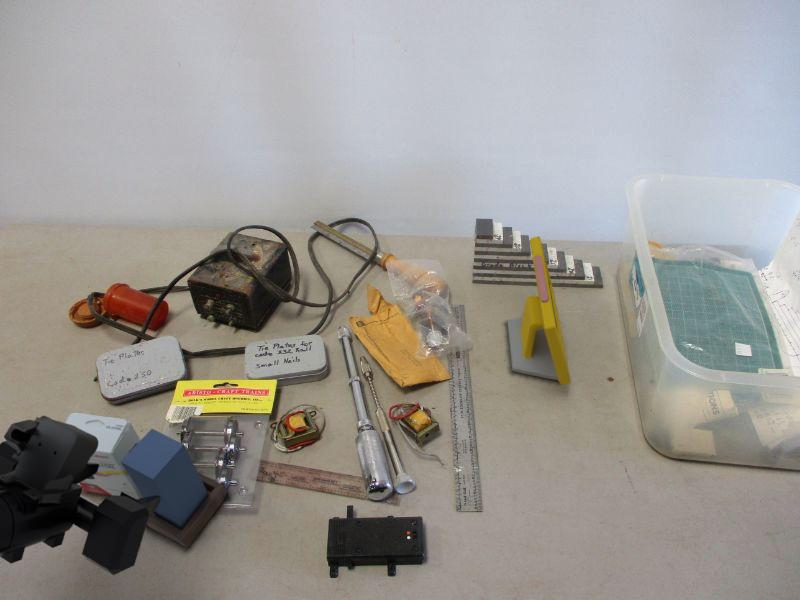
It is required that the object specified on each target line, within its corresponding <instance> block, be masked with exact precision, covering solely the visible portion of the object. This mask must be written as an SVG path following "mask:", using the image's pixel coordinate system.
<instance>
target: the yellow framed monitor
mask: <svg viewBox="0 0 800 600" xmlns="http://www.w3.org/2000/svg"><path fill="white" fill-rule="evenodd" d="M529 244H530V250H531V256H532V263H533V269H534V275H535V282H536V287H537V295H530V296H528V297H527V298H526V299H525V304H524V310H523V314H522V317H521V318H520V317H519V318H515V319H514V318H512V319H508V320H507V332H508V333H507V334H508V343H509V352H510V361H511V363H510V365H511V371H512V372H514V373H517V374H523V375H528V376H534V377H539V378H542V379H543V378H544V379H550V380H554V381H558V382H559V385H560V386H564V385H568V384H571V382H572V381H571V375H570V371H569V370H570V369H569V366H568V360H567V354H566V349H565V344H564V338H563V333H562V328H561V321H560V318H559V311H558V307H557V300H556V295H555V291H554V287H553V282H552V279H551V275H550V270H549V267H548V264H547V259H546V254H545V252H544V248H543V244H542V239H541V237H540V236H534V237H531V238H530V239H529Z"/></svg>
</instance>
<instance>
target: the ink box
mask: <svg viewBox="0 0 800 600" xmlns="http://www.w3.org/2000/svg"><path fill="white" fill-rule="evenodd" d="M62 422H63V423H67V424H70V425H74V426H76V427H77V428H79V429H81V430H83V431H85V432H87V433H89V434H91V435H94V436H95V437H96V438H97V439H98V448H97V450H96V452H95V453H94V454H93V455H92V456H91V458H90V459H89V461H88V462H93V463H98V464H99V468H98V471H97V473H96V474H94V475H92V476H91V477H89V478H87V479H86V480H84V481H82V482H80V483H78V485H80V486H82V487H83V489H82V490H84V492H86V493H92V494H98V495H105V496H113V495H117V496H120V494H121V492H124V493H125V494H127V495H129V496H131V497H133V498H135V499H140V498H144V497H143V496H142V494H141V493H140V491H139V490H138V488H137V487H136V485H135V483H134V482H133V480H132V479H131V477H130V476H129V474H128V473H127V471H126V470H125V468H124V467H123V465H122V464H121V460H122V459H123V458H124V457H125V456H126V455H127V454H128V453H129V452H130V451H131V450H132V449H133V448H134V447H135V446H136V445H137V444H138V443H139V442H140V441H141V438H140V437H139V435H138V433H137V431H136V430H135V428H134V426H133V424H132V423H131V421H130V420H127V419H125V418H117V417H109V416H104V415H95V414H89V413H82V412H72V413H69V414H68V415H67V417H66V418H65V419H64V421H62Z"/></svg>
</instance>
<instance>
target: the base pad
mask: <svg viewBox="0 0 800 600" xmlns="http://www.w3.org/2000/svg"><path fill="white" fill-rule="evenodd" d="M198 474H199V476H200V478H201V480H202V482H203V484H204V486H205V488H206V490H207V492H208V495H209V496H208V497H207V499H206V500H205V501H204V503H203V504H202V505H201V507H200V508H199V509H198V510H197V512H196V513H195V514H194V516H193V517H192V518H191V519H190V521H189V522H188V523H187V525H186V526H185V527H184V529H183V530H180V529H178V528H176V527H175V526H173V525H171V524H169V523H168V522H166V521H164V520H162V519H161V518H159V517H157V516H155V514H154V513H152V514H151V515H150V517H149V518H148V521H147V525H146V527H149V528H150V529H152V530H154V531H155V532H158V533H160V534H161V535H163V536H165V537H167V538H169V539H170V540H172V541H174V542H176V543H177V544H179V545H181V546H183V547H185V548H189V547H190V546H191V545H192V543H193V542H194V541H195V539H197V537H198V535H199V534H200V532H201V531H202V530H203V529H204V527H205V526H206V524H207V523H208V522H209V520H211V518H212V517H213V515H214V514H215V512H216V511H217V510H218V509H219V507H220V506H221V504H222V503H223V502H224V500H225V499H227V498H226V495H227V494H228V492H227V489H226V487H225V485H224V484H222V483H220V482H219V481H217V480H214V479H212V478H210V477H209V476H206V475H204V474H202V473H200V472H198Z"/></svg>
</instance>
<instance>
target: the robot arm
mask: <svg viewBox="0 0 800 600" xmlns="http://www.w3.org/2000/svg"><path fill="white" fill-rule="evenodd" d="M63 422H64V421H59V420H57V419H53V418H51V417H49V416H47V415H42V416H40V417H39V416H36V417H35V419H25V420H21V421H18V422H14V423H12V424H10V426H9V427H8V429H7V431H6V432H5V434H4V436H3V438H4V441H2V442H1V443H0V558H1V559H3V560H5V561H6V562H8V563H9V564H14V563H17V562H19V561H22V560H23V557H24V553H25V551H26V549H27V548H29V547H31V546H34V545H37V544H40V543H43V544H45V545H47V546H48V547H50V548H52V549H54V548H57V547H59V546H63V542H64V539H65V536H66V532H69V531H70V530H71V529H72V528H73V526H76V527H78V528H79V529H81V530H83V531H84V532H86V533H87V535H86V538H85V541H84V545H83V549H82V551H81V555H82V556H83V557H84V558H85V559H86V560H87V561H89V562H90V563H92V564H94V565H95V566H97V567H98V568H100V569H102V570H104V571H105V572H107V573H108V574H110V575H111V576H116V575H118V574H119V573H121V572H124V571H126V570H128V569H130V568H132V567H134V566H135V564H136V561H137V559H138V555H139V551H140V548H141V545H142V542H143V538H144V534H145V531H146V528H147V521H148V518H149V517H150V515H151V514H152V513H153V512H154V510H155V509H156V508H157V507H158V505H159V503H160V499H161V497H160V496H159V495H156V496H149V497H143V498H140V499H135V498H133V497H131V496H129V495H127V494H125V493H124V492H121V494H120V496H117V495H113V496H111V495H109V496H107V497H105V498H104V499H103V500H102V501H101V502H100V503H99V504H98V503H97V502H95V501H93V500H92V499H90V498H88V497H86V496H84V495H82V493H83V490H84V489H83V487H82V486H81V485H80V484H79V483H80V482H82V481H84V480H86V479H87V478H89V477H91V476H92V475H94V474H96V473H97V471H98V468H99V464H98V463H93V462H88V461H89V459H90V458H91V456H92V455H93V454H94V453H95V452H96V450H97V448H98V439H97V438H96V437H95V436H94V435H91V434H89V433H87V432H85V431H83V430H81V429H79V428H77V427H76V426H74V425H70V424H67V423H63Z"/></svg>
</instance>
